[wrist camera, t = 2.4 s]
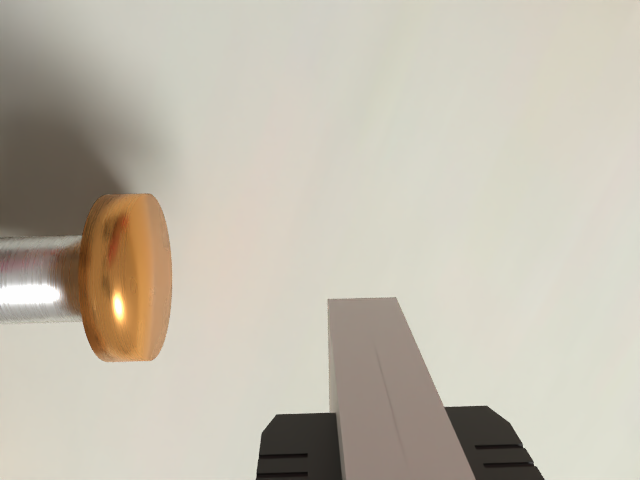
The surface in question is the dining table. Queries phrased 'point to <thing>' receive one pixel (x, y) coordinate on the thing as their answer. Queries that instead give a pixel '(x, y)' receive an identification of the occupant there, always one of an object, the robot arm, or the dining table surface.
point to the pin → (97, 278)
